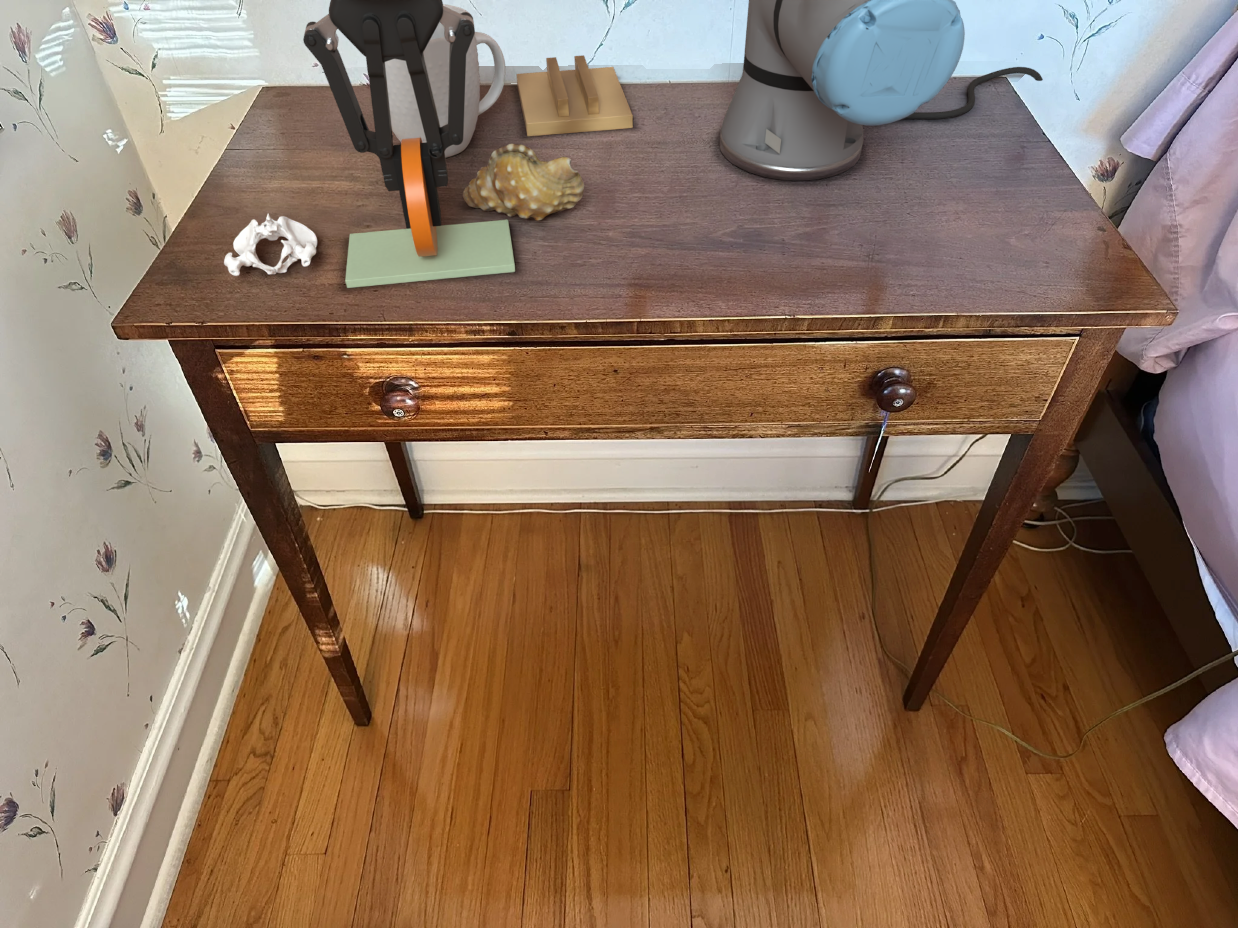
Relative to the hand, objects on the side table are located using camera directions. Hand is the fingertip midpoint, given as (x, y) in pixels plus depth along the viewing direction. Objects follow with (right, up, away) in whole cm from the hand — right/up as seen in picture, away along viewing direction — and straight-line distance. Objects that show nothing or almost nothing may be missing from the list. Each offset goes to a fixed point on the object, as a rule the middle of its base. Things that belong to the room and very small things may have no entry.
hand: (423, 219), depth 81 cm
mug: (-2, +14, +19) cm, 23 cm away
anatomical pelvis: (-14, -4, +2) cm, 15 cm away
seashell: (+9, +7, +7) cm, 14 cm away
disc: (0, -2, +2) cm, 3 cm away
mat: (0, -3, +3) cm, 4 cm away
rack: (+12, +20, +25) cm, 35 cm away
